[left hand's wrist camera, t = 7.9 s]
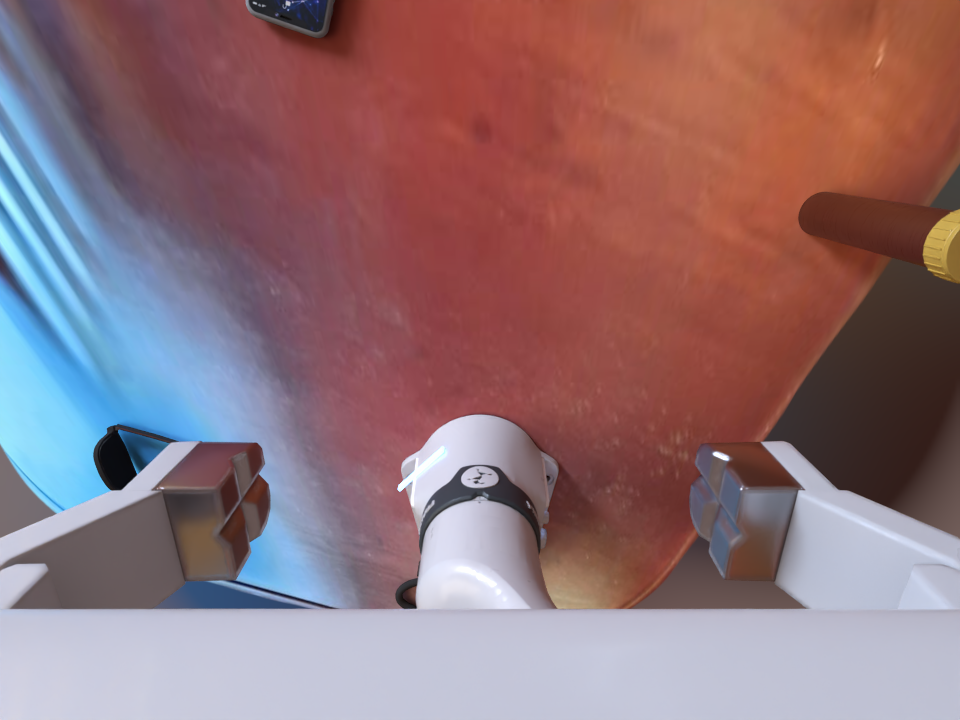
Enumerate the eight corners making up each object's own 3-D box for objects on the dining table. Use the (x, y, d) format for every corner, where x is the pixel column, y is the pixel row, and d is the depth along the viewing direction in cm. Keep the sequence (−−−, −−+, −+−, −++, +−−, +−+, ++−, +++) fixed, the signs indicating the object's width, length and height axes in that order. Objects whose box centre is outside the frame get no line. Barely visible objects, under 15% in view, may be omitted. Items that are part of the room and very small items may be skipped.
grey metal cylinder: (789, 218, 55) (933, 255, 38) (821, 183, 54) (985, 203, 36) (817, 243, 56) (972, 289, 39) (849, 208, 55) (1024, 240, 37)
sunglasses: (278, 508, 68) (263, 535, 64) (175, 537, 70) (154, 566, 65) (212, 392, 62) (190, 412, 58) (102, 427, 64) (72, 450, 59)
